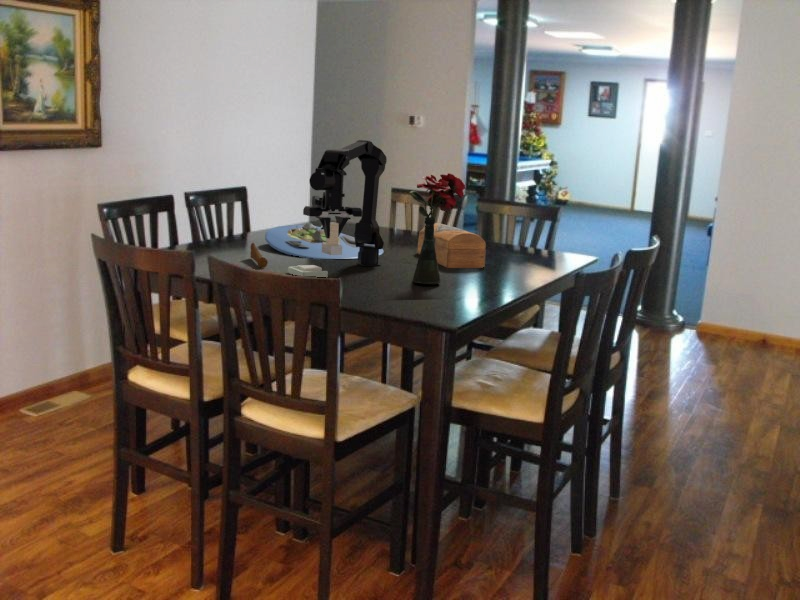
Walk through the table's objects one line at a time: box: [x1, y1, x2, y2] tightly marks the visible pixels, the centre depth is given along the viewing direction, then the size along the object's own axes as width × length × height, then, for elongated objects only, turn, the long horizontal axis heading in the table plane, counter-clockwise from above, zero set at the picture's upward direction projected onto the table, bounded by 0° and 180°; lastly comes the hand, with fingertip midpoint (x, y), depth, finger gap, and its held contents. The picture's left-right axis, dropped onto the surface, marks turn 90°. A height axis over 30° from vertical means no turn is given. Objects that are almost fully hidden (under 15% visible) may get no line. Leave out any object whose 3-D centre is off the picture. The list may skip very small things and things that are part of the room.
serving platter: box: [264, 222, 385, 260], centre depth 314 cm, size 45×43×12 cm
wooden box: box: [417, 222, 487, 269], centre depth 306 cm, size 30×16×14 cm, turn 19°
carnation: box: [408, 173, 466, 286], centre depth 262 cm, size 16×18×35 cm
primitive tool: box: [250, 242, 269, 269], centre depth 279 cm, size 19×6×4 cm
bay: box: [287, 265, 329, 278], centre depth 264 cm, size 9×11×2 cm
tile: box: [297, 264, 323, 272], centre depth 264 cm, size 6×6×3 cm
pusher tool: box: [322, 221, 342, 255], centre depth 264 cm, size 4×7×10 cm, turn 31°
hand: (332, 238), depth 264 cm, fingers closed on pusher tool, 3 cm apart
